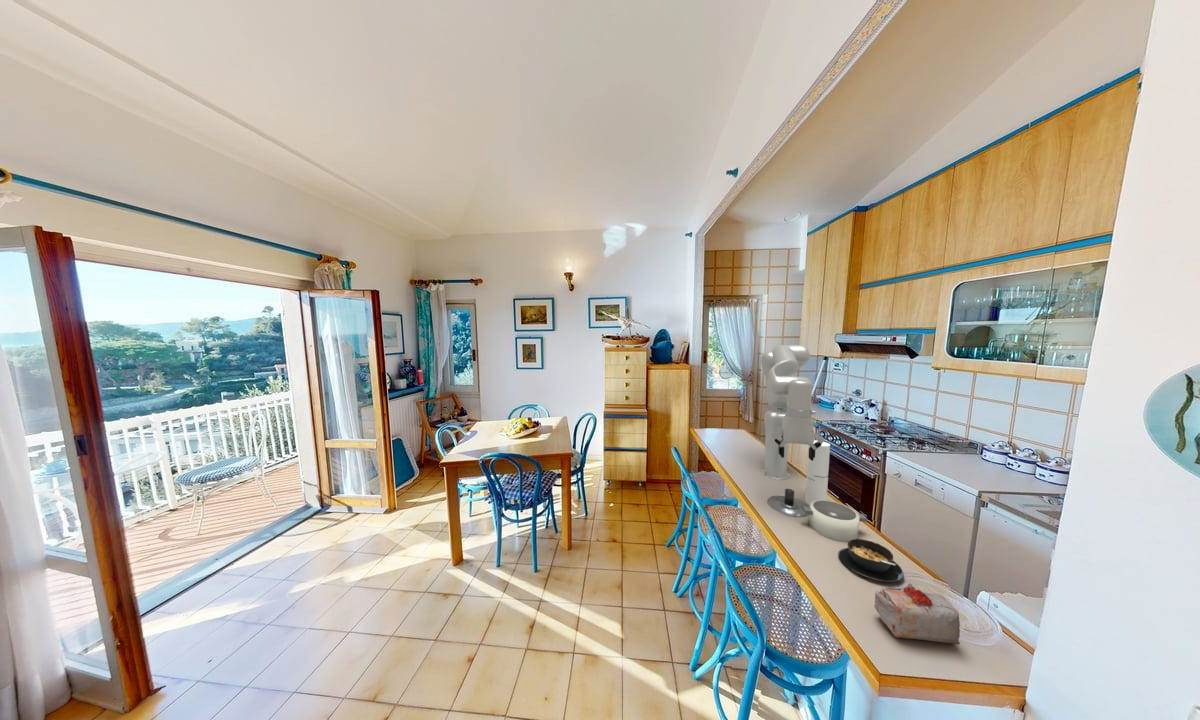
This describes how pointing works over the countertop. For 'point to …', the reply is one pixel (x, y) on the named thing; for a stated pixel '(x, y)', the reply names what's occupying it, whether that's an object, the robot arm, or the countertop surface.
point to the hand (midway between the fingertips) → (796, 457)
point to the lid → (788, 504)
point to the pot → (834, 520)
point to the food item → (918, 615)
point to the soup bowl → (871, 560)
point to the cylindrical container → (817, 474)
